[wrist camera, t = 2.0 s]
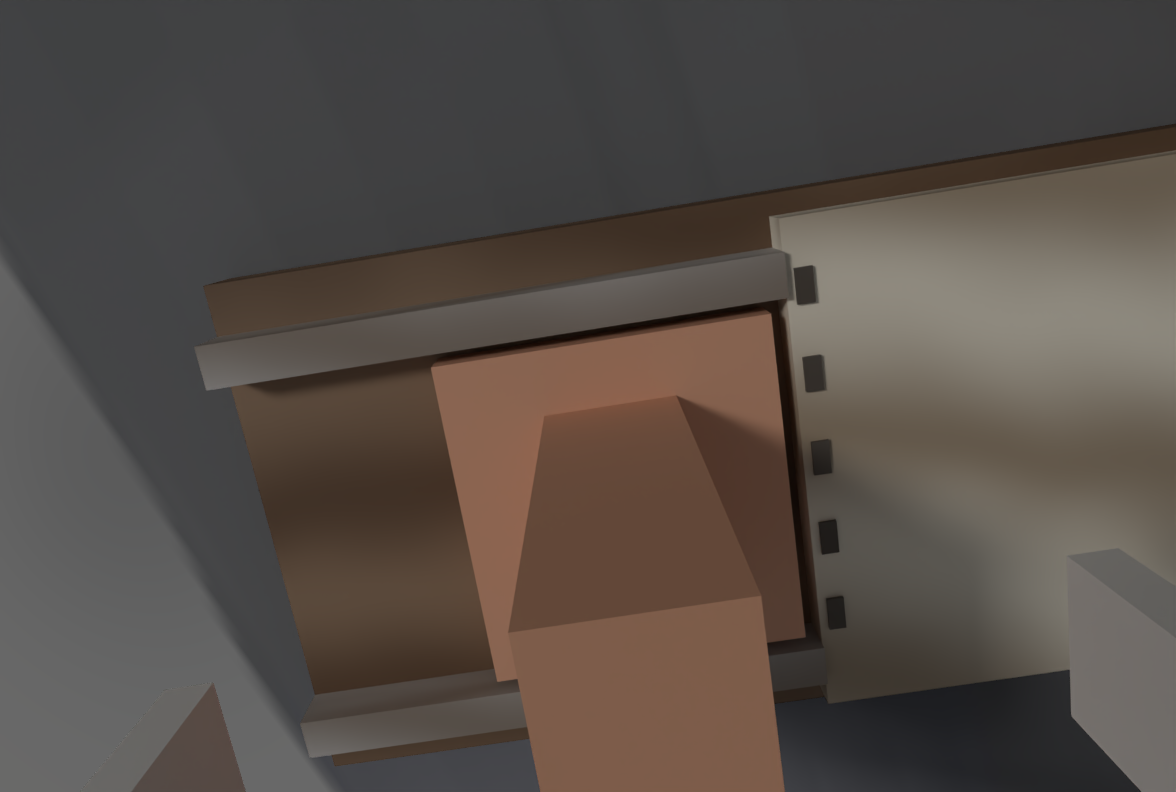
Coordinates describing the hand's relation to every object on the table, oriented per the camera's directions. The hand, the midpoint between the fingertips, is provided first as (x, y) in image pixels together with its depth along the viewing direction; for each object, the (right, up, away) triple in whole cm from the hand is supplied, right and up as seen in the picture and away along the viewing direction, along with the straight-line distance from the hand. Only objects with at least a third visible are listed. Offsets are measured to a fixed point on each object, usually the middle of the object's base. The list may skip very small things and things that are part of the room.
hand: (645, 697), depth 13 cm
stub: (0, +2, +8) cm, 8 cm away
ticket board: (+5, +3, +9) cm, 11 cm away
